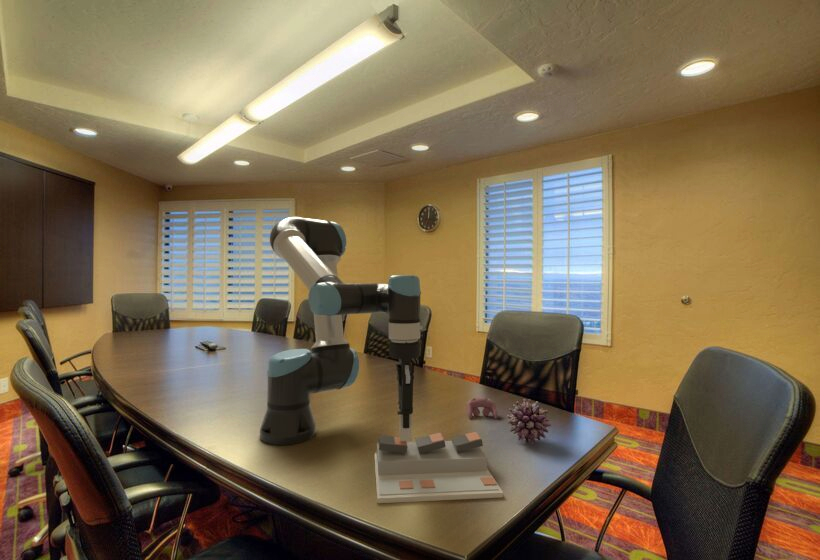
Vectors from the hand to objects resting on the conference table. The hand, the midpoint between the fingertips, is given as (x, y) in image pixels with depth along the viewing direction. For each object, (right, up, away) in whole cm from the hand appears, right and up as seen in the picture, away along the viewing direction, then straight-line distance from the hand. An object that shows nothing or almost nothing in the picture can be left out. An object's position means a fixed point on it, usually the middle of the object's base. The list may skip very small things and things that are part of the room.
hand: (405, 439), depth 91 cm
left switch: (-3, -1, 0) cm, 3 cm away
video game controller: (+25, -8, +36) cm, 45 cm away
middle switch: (+6, -1, +1) cm, 6 cm away
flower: (+34, -8, +17) cm, 39 cm away
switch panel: (+6, -7, -3) cm, 10 cm away
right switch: (+15, -1, +2) cm, 15 cm away
